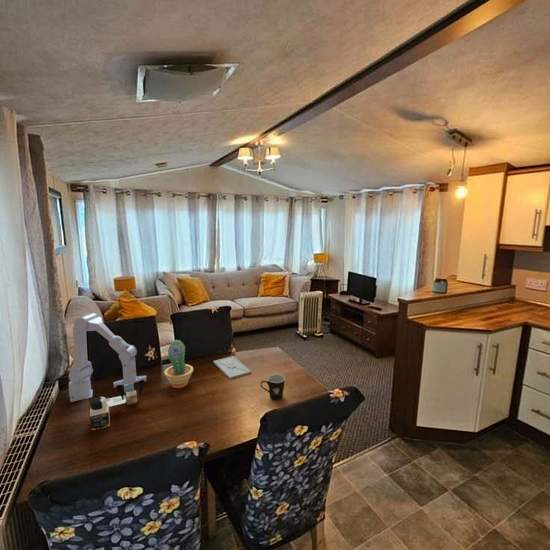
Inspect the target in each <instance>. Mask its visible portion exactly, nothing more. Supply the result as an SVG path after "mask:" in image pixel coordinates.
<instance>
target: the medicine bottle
mask: <svg viewBox="0 0 550 550" xmlns="http://www.w3.org/2000/svg"><path fill="white" fill-rule="evenodd" d="M106 399H107V398H106V397H105V396H96V397H95V398H92V400H91V401H90V402H89V403H90V408H89V409H90V410H89V423H90V424H89V425H90V430H93V431H96V429H97V430H101V429H104V428H108V427H110V426H111V425H110V424H111V422H110V421H111V420H110V417H111V415H110V407H109V404H107V402H106ZM107 426H108V427H107ZM100 428H101V429H100Z"/></svg>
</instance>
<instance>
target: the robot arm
mask: <svg viewBox="0 0 550 550" xmlns="http://www.w3.org/2000/svg"><path fill="white" fill-rule="evenodd" d="M87 331H88V332H94V331H95V332H97V333H98V334H100V335H101V336H102V337H103V338H104V339H106V340H107V341H108V345H109V346H110V347H111V348H112V349H113V350H114V351H115V352H116V353H117V354H118V358H119V361H120V362H121V365H122V376H123V378H122V379H120V380H116V381H113V388H116V390H117V392H118V393H119V396H121V397H122V400H124V396H123V395H124V393H123V392H124V388H123V386H124V385H126V384H128V385H131V384H134V383H138V396H139V397H141V396H142V391H143V387H144V385H145V382H147V375H139V376H138V375H137V369H136V367H137V365H136V357H135V356H137V354H138V350H137V348H136V347H135V345H133V344H132V345H131V344H129V343H127V341H125V340H124V339H123V338H122V336H119V335H115V334H114V332H112V331H111V330H110V328H108V327H107V325H106V324H105V323H104V322H103V318H102V317H101V316H100V315H99V314H98V313H96V312H90V313H88V314H86V315H84V316H81V317H78V318H76V319H75V320H74V321H73V327H72V339H73V340H72V342H73V343H72V344H73V359H74V360H73V361H74V362H73V363H72V366H71V367H70V368H69V373H68V380H69V382H68V396H69V402H70V403H72V402H76V401H81V400H87V399H90V398H93V391H94V390H93V389H92V385H91V376H92V374H93V372H94V369H93V366H92V361H89V360H88V348H87V346H88V345H87Z"/></svg>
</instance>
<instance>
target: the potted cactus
mask: <svg viewBox="0 0 550 550" xmlns="http://www.w3.org/2000/svg"><path fill="white" fill-rule="evenodd" d="M167 354H168V359H169V360H170V363H171V366H168V367H167V368H166V369H165V370H164V371H163V373H164V376H165V378H166V379H167V380H168V382H169V383H170V386H171V387H172V388H174V389H175V388H176V389H181V388H184V387H185V386H187V385H188V384H189V380H190V378H191V376H192V374H193V372H194V367H193V366H192V365H190V364H188V363H187V364H186V362H185V355H186V346H185V343H183V342H182V341H181V339H179V340H178V339H175V340H172V341H171V343H170V345H169V346H168V349H167Z"/></svg>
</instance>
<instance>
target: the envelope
mask: <svg viewBox="0 0 550 550" xmlns="http://www.w3.org/2000/svg"><path fill="white" fill-rule="evenodd" d="M213 365H215V366H216V368H218V369H219V371H221V372H222V374H223V375H225V376H226V377H227V378H228V379H229V380H233V379H235V378H236V379H237V378H239V377H240V378H241V377H242V376H243V377H244V376H247V375H250V374H252V370H250V369H249V368H248V367H247V366H246V365H245V364H243V363H242V362H241V361H240V360H239V359H237V358H236V357H235V356H234V355H233V356H228V357H223V358H220V359H217V360H213Z"/></svg>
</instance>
